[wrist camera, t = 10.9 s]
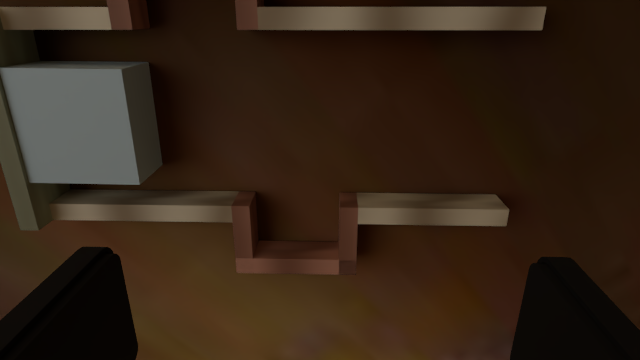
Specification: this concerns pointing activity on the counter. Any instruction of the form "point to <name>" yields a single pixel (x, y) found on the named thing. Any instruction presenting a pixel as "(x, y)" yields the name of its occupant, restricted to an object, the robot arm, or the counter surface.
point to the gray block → (84, 121)
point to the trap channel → (240, 206)
